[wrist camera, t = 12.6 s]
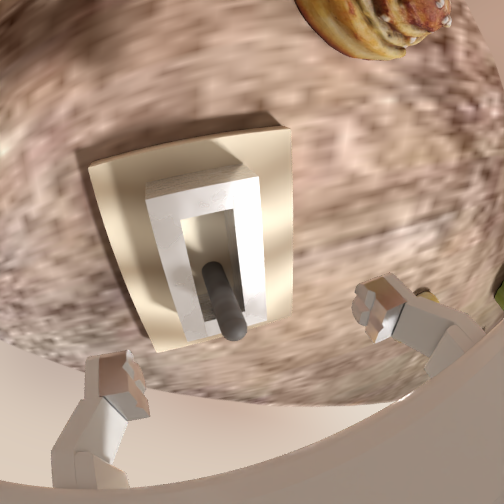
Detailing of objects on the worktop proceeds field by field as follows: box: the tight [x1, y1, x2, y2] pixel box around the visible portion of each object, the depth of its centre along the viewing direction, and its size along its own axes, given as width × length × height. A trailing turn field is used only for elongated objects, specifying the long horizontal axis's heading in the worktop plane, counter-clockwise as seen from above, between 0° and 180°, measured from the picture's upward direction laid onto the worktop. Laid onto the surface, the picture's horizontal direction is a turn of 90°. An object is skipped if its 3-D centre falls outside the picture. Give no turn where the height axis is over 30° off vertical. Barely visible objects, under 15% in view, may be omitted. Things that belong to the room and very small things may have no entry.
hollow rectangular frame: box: [145, 163, 267, 342], centre depth 19 cm, size 11×6×3 cm, turn 4°
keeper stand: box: [88, 126, 293, 353], centre depth 19 cm, size 17×13×8 cm
